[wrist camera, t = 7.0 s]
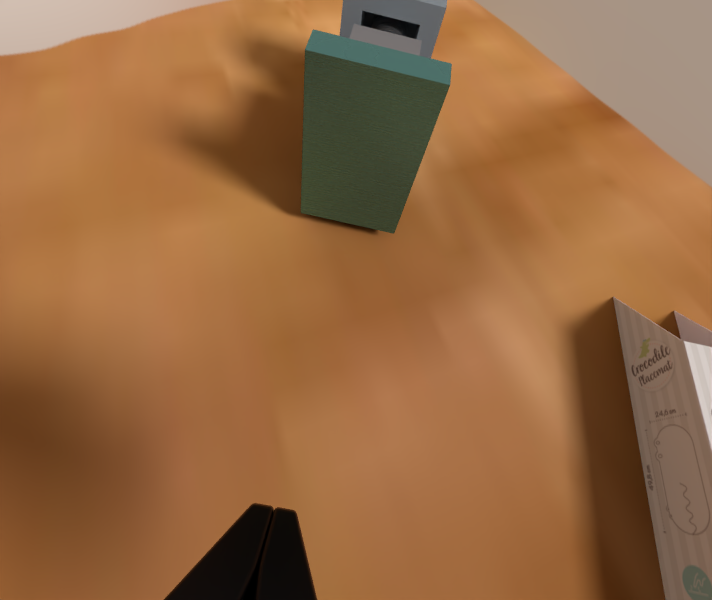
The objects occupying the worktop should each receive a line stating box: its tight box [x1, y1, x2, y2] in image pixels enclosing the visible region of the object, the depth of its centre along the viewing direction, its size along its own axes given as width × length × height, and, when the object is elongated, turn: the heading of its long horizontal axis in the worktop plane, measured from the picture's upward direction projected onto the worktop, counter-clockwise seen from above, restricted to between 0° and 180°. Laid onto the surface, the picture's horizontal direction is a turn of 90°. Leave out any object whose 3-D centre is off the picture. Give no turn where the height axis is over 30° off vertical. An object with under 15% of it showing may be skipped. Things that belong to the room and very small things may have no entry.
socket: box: [340, 0, 447, 59], centre depth 27 cm, size 4×6×9 cm, turn 81°
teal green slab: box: [301, 14, 452, 233], centre depth 23 cm, size 13×6×10 cm, turn 171°
